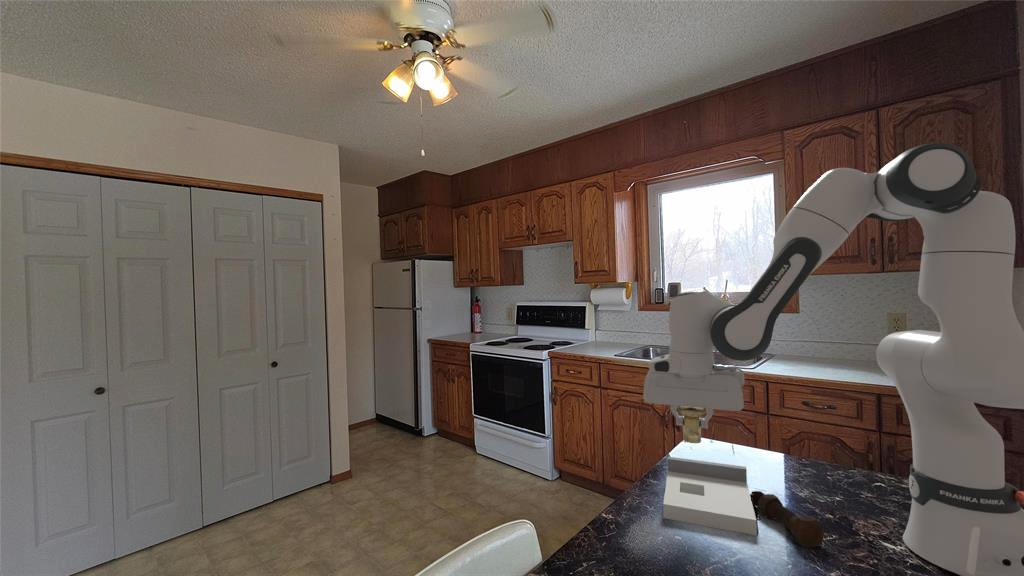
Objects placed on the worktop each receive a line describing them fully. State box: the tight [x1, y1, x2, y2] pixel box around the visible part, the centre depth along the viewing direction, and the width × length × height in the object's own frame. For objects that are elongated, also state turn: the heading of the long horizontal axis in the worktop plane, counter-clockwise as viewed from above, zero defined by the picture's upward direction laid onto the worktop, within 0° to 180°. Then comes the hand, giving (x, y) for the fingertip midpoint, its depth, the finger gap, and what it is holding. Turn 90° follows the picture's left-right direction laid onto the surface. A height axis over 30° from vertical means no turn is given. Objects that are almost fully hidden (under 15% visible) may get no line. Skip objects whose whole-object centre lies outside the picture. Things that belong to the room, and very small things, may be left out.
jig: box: [662, 456, 758, 537], centre depth 92 cm, size 17×18×6 cm
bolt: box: [750, 490, 825, 549], centre depth 84 cm, size 6×5×15 cm
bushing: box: [678, 406, 706, 444], centre depth 92 cm, size 5×5×7 cm
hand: (691, 426), depth 92 cm, fingers closed on bushing, 4 cm apart
